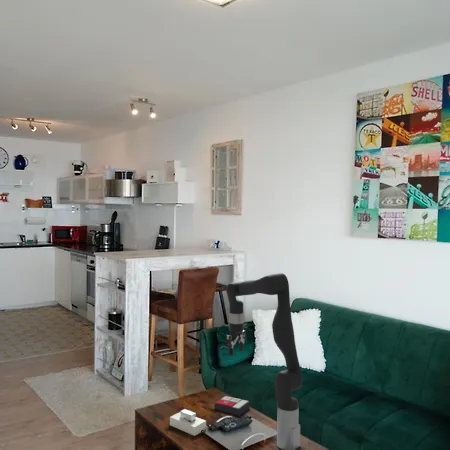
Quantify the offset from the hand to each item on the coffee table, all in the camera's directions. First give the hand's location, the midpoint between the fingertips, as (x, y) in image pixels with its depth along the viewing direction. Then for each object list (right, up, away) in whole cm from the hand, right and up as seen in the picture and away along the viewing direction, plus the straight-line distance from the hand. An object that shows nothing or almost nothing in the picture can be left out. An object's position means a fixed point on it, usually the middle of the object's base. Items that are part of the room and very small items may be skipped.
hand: (236, 353), depth 233 cm
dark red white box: (-2, -31, +5) cm, 31 cm away
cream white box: (-23, -31, -16) cm, 42 cm away
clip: (-23, -30, -16) cm, 41 cm away
